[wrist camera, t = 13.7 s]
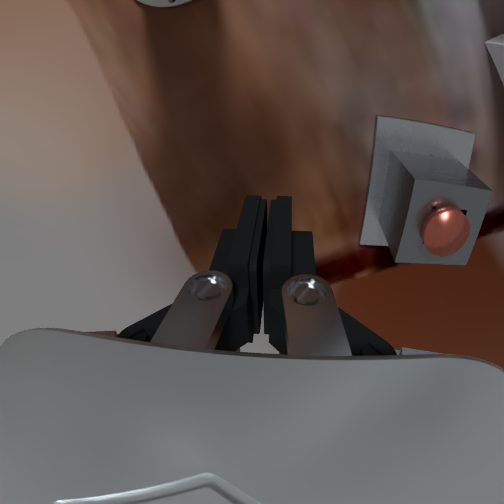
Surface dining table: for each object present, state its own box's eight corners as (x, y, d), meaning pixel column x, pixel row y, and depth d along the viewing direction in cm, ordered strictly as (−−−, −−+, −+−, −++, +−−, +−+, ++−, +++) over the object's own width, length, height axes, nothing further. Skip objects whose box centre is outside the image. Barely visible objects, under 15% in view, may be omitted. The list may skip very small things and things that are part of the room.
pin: (404, 171, 34) (432, 208, 26) (442, 176, 33) (476, 213, 25) (396, 210, 37) (418, 255, 29) (432, 214, 36) (460, 257, 29)
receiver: (375, 114, 32) (402, 136, 24) (471, 132, 30) (513, 159, 22) (358, 240, 43) (371, 288, 35) (442, 245, 41) (466, 289, 33)
